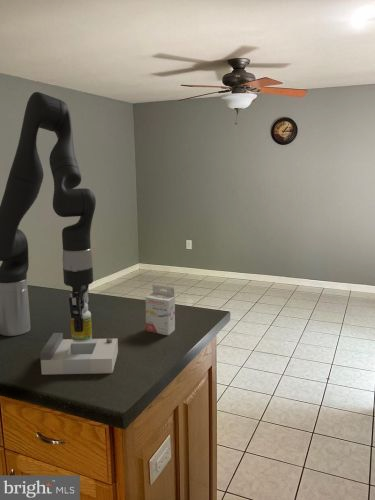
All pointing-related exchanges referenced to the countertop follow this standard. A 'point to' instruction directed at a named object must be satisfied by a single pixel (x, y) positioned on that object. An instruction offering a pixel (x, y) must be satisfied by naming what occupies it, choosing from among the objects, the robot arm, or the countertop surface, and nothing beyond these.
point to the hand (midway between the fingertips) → (81, 326)
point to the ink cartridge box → (160, 310)
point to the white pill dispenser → (78, 356)
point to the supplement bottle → (87, 327)
